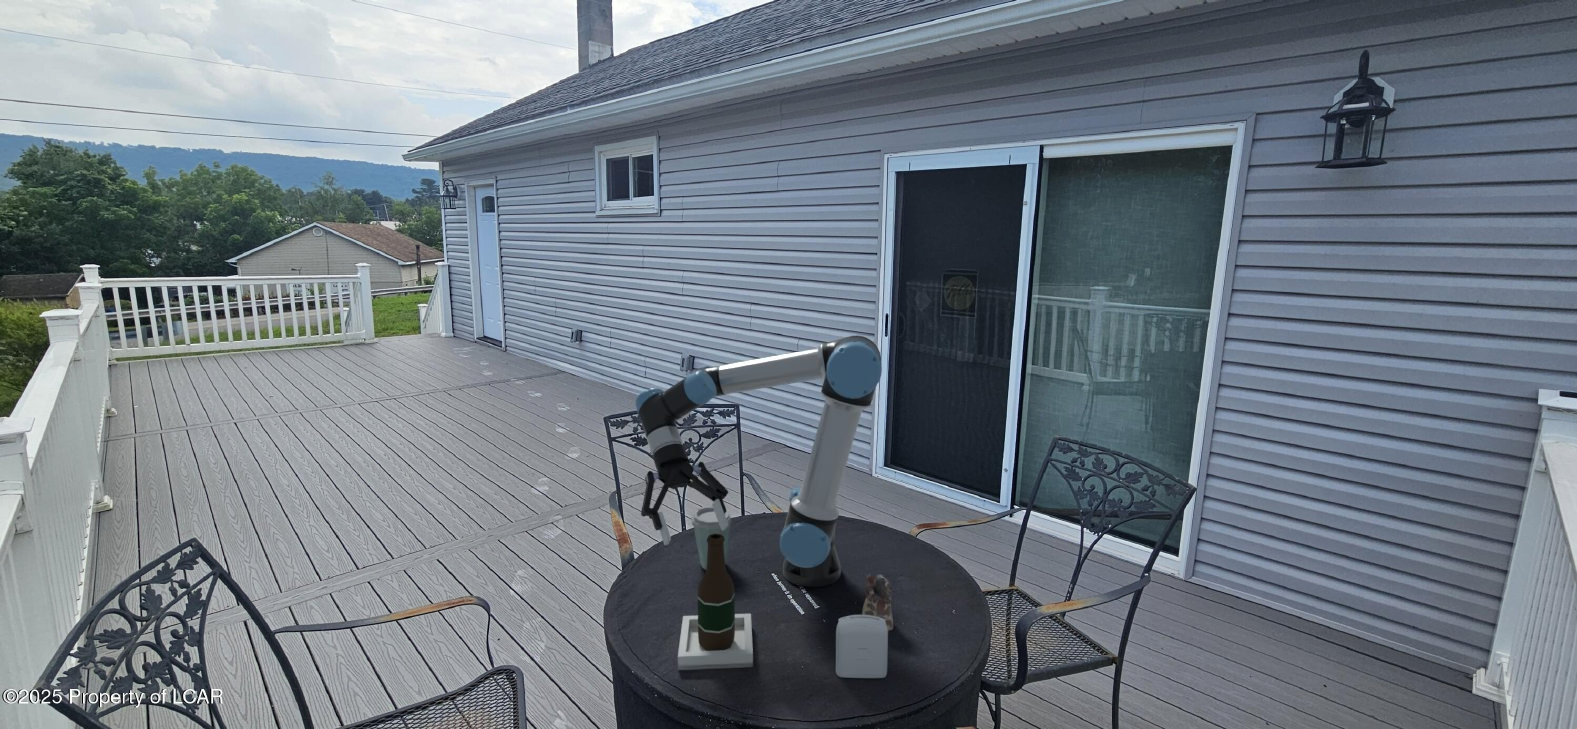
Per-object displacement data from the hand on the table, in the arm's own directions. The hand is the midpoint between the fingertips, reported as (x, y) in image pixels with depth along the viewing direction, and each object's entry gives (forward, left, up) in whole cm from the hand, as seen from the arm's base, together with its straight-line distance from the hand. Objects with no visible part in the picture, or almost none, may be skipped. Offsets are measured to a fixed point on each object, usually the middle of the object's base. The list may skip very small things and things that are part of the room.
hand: (697, 535), depth 144 cm
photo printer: (-33, +18, -23) cm, 44 cm away
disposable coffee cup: (-2, -30, -22) cm, 38 cm away
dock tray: (-4, +7, -22) cm, 24 cm away
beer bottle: (-4, +7, -21) cm, 23 cm away
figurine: (-40, +1, -23) cm, 46 cm away
